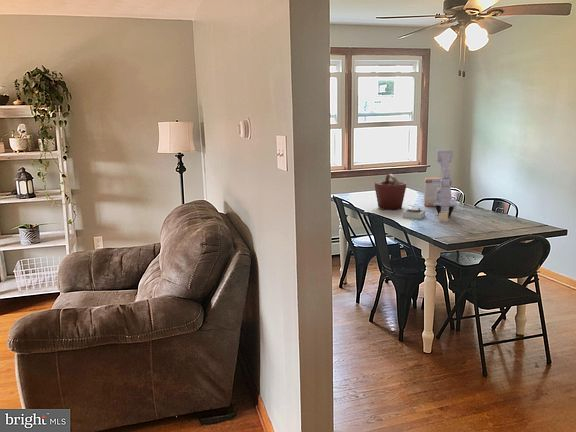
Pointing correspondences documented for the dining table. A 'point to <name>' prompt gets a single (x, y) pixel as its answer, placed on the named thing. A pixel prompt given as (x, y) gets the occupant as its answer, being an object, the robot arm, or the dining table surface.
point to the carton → (443, 216)
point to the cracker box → (431, 190)
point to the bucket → (390, 193)
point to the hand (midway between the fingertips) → (444, 217)
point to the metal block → (414, 210)
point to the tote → (413, 214)
